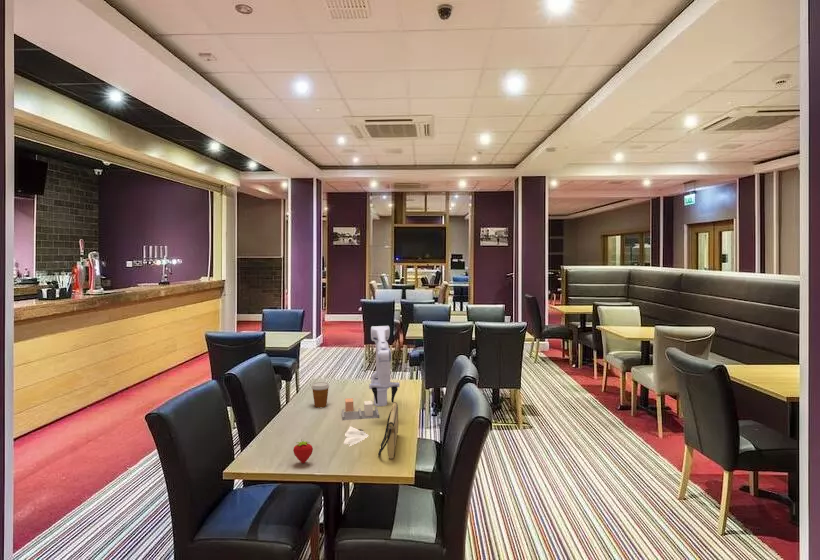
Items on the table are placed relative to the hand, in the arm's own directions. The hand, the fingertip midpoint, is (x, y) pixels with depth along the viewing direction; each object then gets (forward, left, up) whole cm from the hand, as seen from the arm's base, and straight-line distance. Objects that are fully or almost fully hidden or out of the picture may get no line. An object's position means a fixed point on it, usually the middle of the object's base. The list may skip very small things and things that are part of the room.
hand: (384, 402), depth 223 cm
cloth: (+14, -15, -11) cm, 23 cm away
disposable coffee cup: (-33, -31, -10) cm, 47 cm away
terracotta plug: (-21, -16, -10) cm, 28 cm away
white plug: (-11, -7, -9) cm, 16 cm away
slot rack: (-11, -11, -10) cm, 19 cm away
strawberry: (+39, -36, -10) cm, 54 cm away
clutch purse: (+29, -2, -10) cm, 31 cm away
